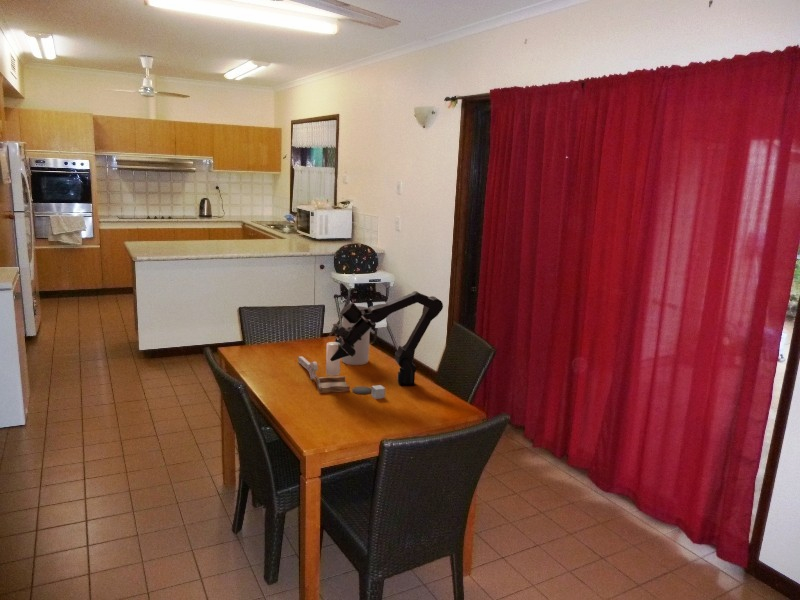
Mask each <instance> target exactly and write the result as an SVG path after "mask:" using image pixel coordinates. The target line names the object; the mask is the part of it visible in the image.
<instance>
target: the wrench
mask: <svg viewBox="0 0 800 600" xmlns="http://www.w3.org/2000/svg"><path fill="white" fill-rule="evenodd" d="M297 361H298V364H300V365H301V366H302V367H303V368H305V369H306V370H307V371H308V373H309V376H310V380H316V378H317V377H318V375H317V373H316V371H319V366H318V362H317V361H311V362H310V361H308V360H307V358H305V357H304V356H302V355H301V356H298V357H297Z"/></svg>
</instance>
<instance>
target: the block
mask: <svg viewBox="0 0 800 600" xmlns="http://www.w3.org/2000/svg"><path fill="white" fill-rule="evenodd" d="M371 389H372V392H371V393H370V394H371V395H370V396H371V397H372V398H374V399H375V400H378V399H385V398H386V397H385V396H386V387H384V386H383V385H381V384H379V385H371Z"/></svg>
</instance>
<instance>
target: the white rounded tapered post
mask: <svg viewBox="0 0 800 600" xmlns="http://www.w3.org/2000/svg"><path fill="white" fill-rule="evenodd" d="M338 344H339V345H340V343H338V342H335V341H329V342H327V343H326V349H325V350H326V359H325V363H326V364H325V375H326V376H328V377H338V376H339V375H340V374H341V358H340V359H337V360H335V361H331V360H330V359H331V358H332V356H333V355H334V354H335V352H336V351H337V350H338Z"/></svg>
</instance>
